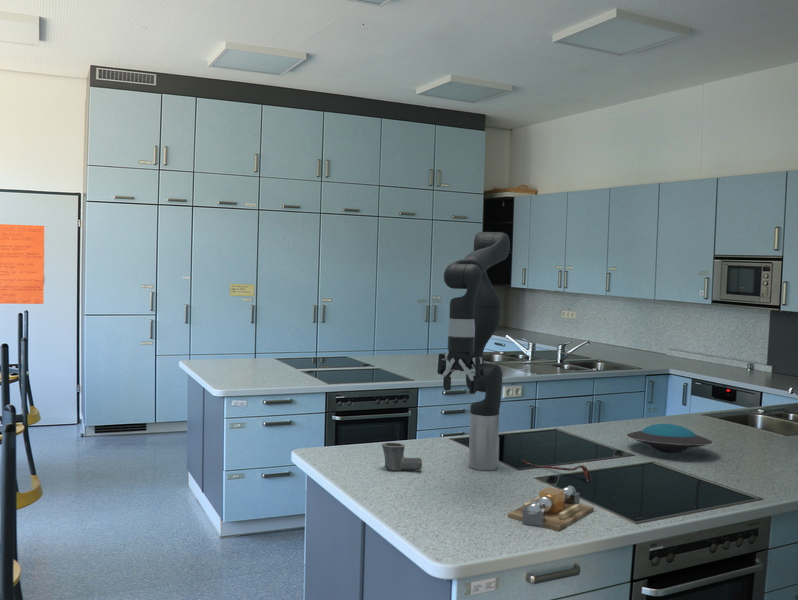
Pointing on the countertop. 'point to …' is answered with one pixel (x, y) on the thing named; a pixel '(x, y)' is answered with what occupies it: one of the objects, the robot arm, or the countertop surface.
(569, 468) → the crowbar
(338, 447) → the countertop surface
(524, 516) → the shaft
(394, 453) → the pipe
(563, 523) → the wooden tray with rails
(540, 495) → the coupling
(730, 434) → the countertop surface
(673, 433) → the decorative object
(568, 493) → the shaft
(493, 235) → the robot arm
